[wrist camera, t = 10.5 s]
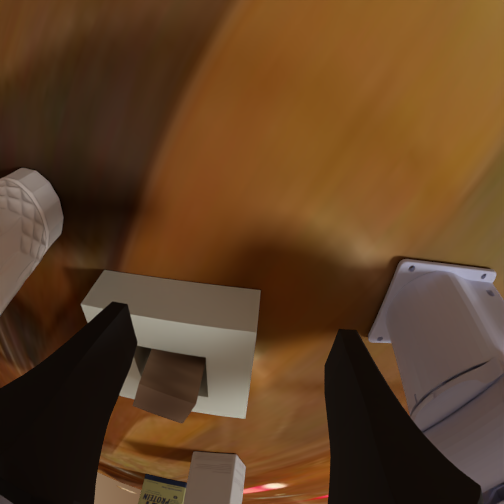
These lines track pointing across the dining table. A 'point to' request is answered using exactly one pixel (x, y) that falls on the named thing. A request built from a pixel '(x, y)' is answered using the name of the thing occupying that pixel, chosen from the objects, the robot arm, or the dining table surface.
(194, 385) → the peg
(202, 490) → the supplement box
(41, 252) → the white cup
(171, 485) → the protein box
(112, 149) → the dining table surface
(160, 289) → the socket block
